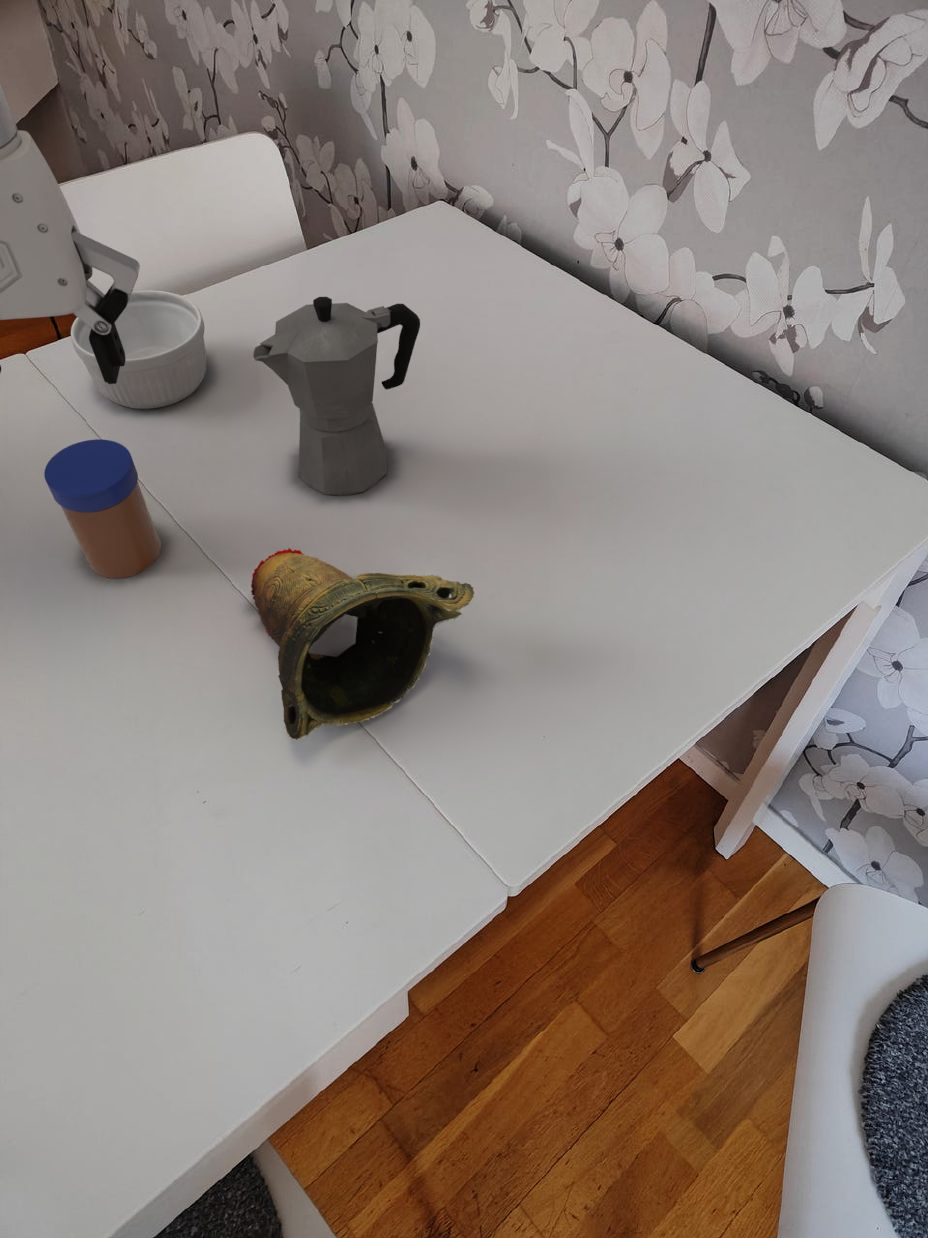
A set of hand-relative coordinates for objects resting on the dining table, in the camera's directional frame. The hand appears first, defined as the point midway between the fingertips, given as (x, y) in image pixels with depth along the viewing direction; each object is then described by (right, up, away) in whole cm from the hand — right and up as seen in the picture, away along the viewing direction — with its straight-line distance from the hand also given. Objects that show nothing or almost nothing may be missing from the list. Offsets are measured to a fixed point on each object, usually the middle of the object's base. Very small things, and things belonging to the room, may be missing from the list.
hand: (53, 376), depth 64 cm
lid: (0, -6, +7) cm, 9 cm away
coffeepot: (+19, -2, +23) cm, 30 cm away
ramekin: (-4, +8, +31) cm, 32 cm away
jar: (0, -12, +14) cm, 19 cm away
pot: (+21, -22, +7) cm, 31 cm away
